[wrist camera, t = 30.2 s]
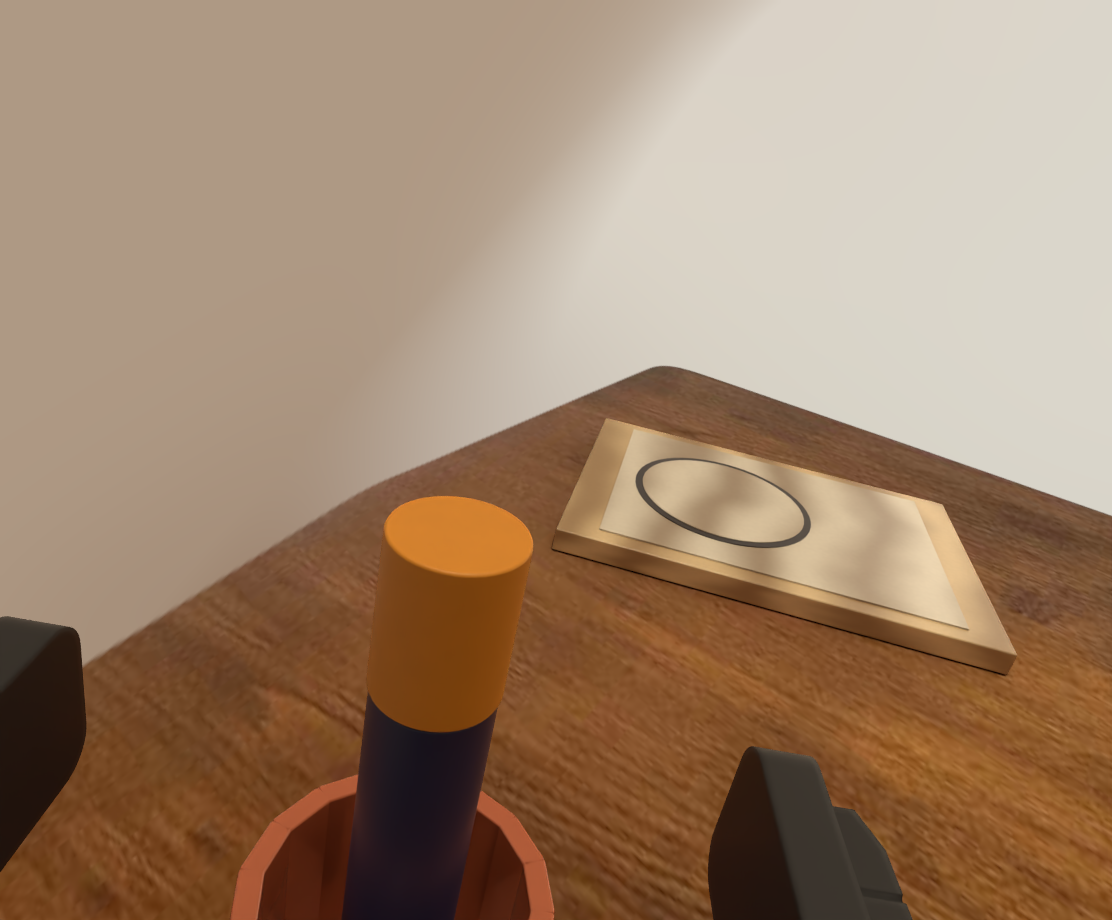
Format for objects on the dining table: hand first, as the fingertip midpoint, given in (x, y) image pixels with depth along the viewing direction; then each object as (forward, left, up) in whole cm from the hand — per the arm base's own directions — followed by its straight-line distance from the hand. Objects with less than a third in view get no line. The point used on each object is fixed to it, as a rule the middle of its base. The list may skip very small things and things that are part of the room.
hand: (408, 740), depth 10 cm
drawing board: (+9, +36, -13) cm, 39 cm away
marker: (-1, +3, -13) cm, 13 cm away
